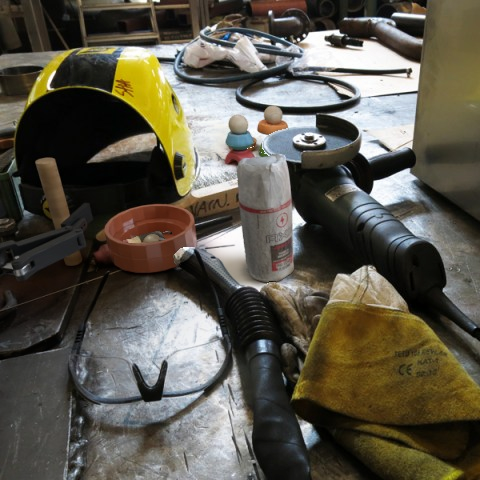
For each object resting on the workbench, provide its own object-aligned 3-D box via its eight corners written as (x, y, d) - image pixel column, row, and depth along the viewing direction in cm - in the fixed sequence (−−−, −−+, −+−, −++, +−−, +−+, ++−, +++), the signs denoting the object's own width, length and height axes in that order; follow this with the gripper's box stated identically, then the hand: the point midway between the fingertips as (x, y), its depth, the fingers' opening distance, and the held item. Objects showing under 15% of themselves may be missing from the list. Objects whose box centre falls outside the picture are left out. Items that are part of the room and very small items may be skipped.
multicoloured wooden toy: (241, 140, 135) (239, 95, 128) (294, 151, 128) (294, 104, 121) (199, 159, 121) (194, 110, 114) (255, 174, 114) (253, 122, 108)
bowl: (94, 257, 81) (86, 226, 78) (161, 225, 92) (156, 197, 89) (148, 287, 75) (142, 255, 72) (214, 249, 85) (211, 219, 82)
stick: (62, 261, 80) (32, 160, 71) (78, 255, 82) (51, 156, 73) (69, 267, 79) (39, 165, 69) (85, 262, 80) (57, 160, 71)
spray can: (250, 288, 75) (243, 170, 65) (238, 261, 82) (230, 149, 72) (301, 278, 78) (302, 163, 68) (285, 252, 84) (284, 144, 74)
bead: (150, 228, 83) (137, 237, 81) (163, 233, 81) (149, 243, 79) (154, 242, 84) (141, 251, 82) (167, 247, 83) (154, 256, 81)
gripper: (-153, 312, 56) (-27, 225, 74) (52, 327, 55) (130, 235, 73) (-186, 258, 52) (-44, 180, 70) (34, 274, 51) (121, 190, 69)
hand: (44, 208), depth 72 cm, fingers open, 13 cm apart
